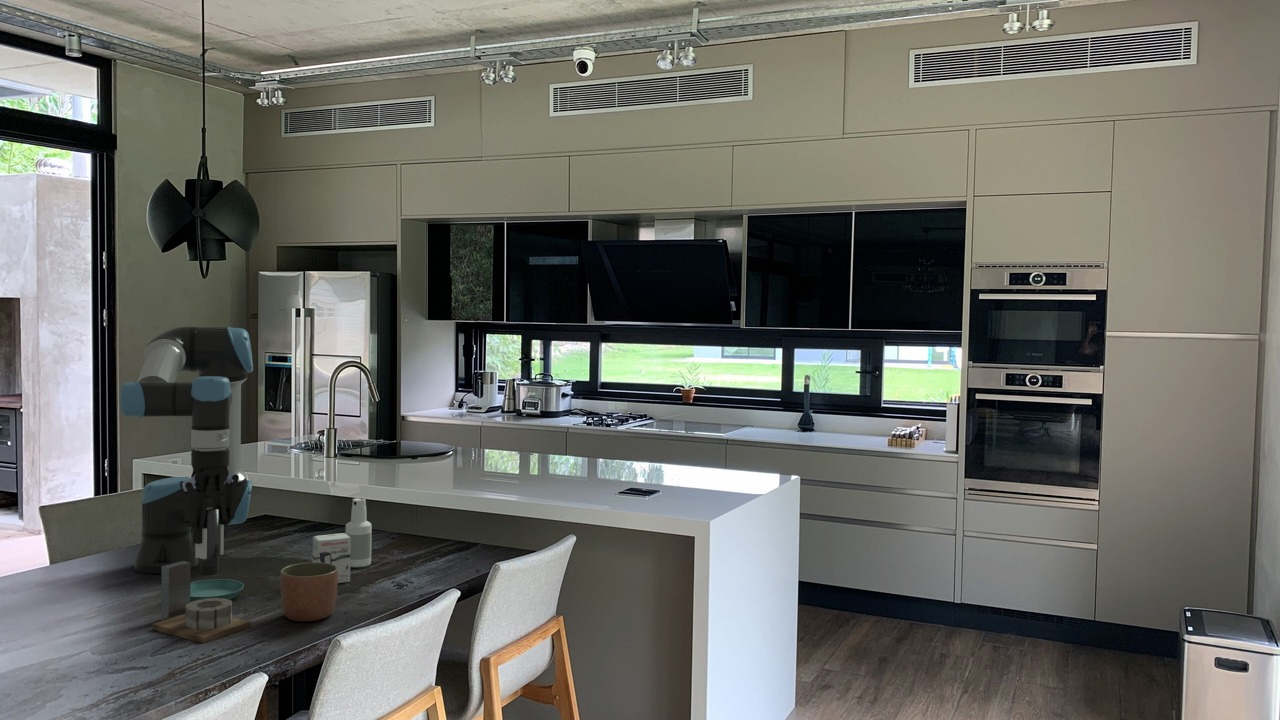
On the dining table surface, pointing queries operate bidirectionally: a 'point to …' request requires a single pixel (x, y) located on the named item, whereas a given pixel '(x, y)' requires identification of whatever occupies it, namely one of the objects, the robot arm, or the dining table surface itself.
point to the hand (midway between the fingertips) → (209, 555)
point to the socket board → (198, 634)
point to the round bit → (211, 543)
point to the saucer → (215, 589)
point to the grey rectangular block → (175, 589)
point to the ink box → (334, 553)
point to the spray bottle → (359, 535)
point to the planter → (308, 591)
